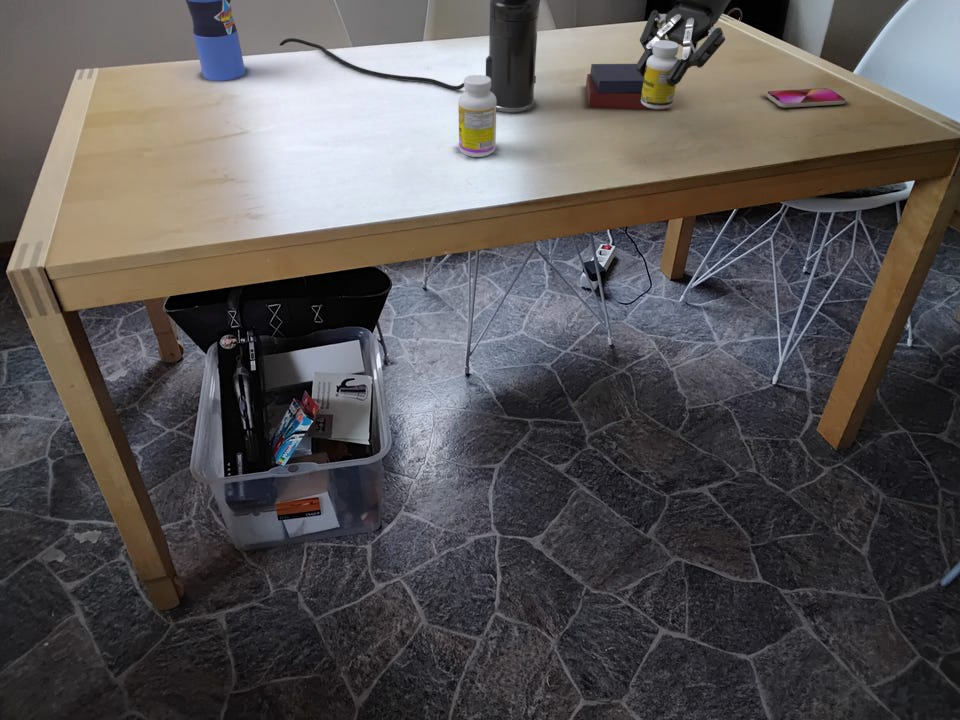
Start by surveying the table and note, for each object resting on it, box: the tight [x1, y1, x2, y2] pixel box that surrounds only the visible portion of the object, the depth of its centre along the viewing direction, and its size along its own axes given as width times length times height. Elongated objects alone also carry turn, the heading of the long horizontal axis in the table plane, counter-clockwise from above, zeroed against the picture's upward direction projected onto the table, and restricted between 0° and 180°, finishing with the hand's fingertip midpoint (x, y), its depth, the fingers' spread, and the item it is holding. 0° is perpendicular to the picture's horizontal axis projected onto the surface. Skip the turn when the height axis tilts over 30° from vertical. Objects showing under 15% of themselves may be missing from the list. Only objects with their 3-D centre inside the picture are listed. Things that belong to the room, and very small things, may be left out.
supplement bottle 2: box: [641, 40, 680, 110], centre depth 120 cm, size 5×5×10 cm
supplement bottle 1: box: [458, 74, 497, 158], centre depth 128 cm, size 7×7×13 cm
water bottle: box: [185, 0, 246, 82], centre depth 152 cm, size 9×9×25 cm
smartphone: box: [765, 87, 847, 109], centre depth 152 cm, size 7×1×15 cm
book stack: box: [585, 63, 669, 111], centre depth 150 cm, size 16×11×6 cm
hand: (654, 78), depth 119 cm, fingers closed on supplement bottle 2, 5 cm apart
